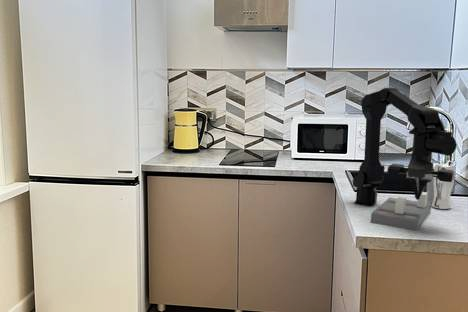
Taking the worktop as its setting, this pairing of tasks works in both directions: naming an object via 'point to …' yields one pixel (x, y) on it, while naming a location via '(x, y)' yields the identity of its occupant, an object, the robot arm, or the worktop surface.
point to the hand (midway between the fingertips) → (417, 199)
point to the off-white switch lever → (400, 205)
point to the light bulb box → (430, 192)
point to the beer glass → (442, 189)
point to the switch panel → (406, 220)
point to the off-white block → (422, 200)
